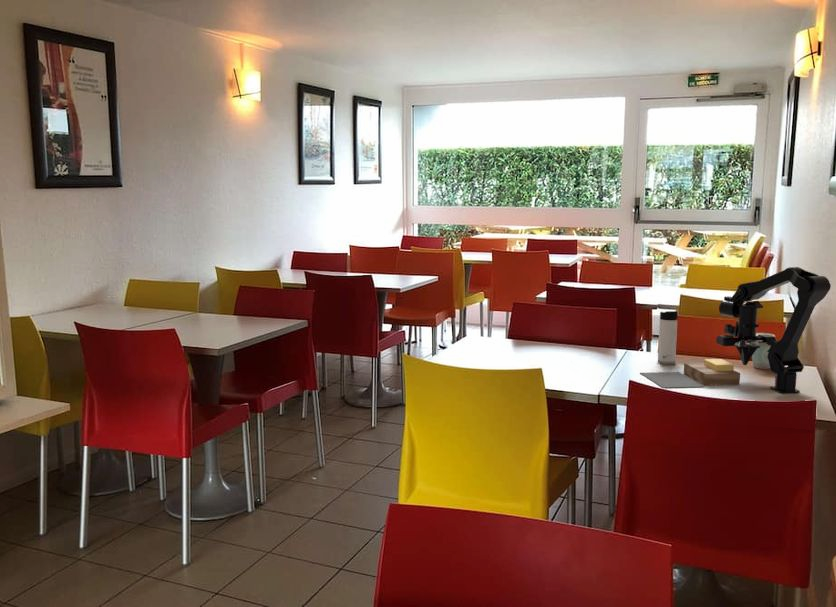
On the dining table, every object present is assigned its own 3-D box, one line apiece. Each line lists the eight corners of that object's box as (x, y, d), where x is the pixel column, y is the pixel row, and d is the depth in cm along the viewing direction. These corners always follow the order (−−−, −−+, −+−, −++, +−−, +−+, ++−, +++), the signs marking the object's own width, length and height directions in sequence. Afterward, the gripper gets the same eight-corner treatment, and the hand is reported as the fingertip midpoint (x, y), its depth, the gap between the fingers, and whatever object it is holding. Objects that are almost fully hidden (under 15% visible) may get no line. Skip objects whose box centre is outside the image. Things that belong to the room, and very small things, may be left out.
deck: (739, 384, 247) (740, 373, 246) (704, 385, 246) (705, 373, 245) (716, 373, 262) (717, 362, 262) (683, 374, 261) (684, 362, 261)
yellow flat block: (733, 370, 249) (733, 364, 249) (716, 371, 249) (716, 365, 249) (720, 364, 258) (721, 358, 258) (704, 364, 258) (704, 359, 258)
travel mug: (665, 365, 274) (668, 312, 271) (654, 361, 280) (656, 309, 277) (679, 364, 276) (682, 311, 273) (667, 360, 282) (670, 308, 279)
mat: (704, 387, 244) (704, 386, 244) (662, 388, 243) (663, 387, 242) (678, 372, 263) (678, 371, 263) (640, 373, 262) (640, 372, 262)
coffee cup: (758, 370, 267) (760, 337, 265) (743, 364, 275) (745, 333, 273) (779, 369, 269) (782, 336, 267) (764, 363, 277) (766, 332, 275)
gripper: (761, 315, 261) (758, 359, 263) (709, 316, 259) (707, 360, 261) (779, 321, 250) (775, 366, 252) (725, 321, 248) (722, 367, 250)
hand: (744, 364), depth 254 cm, fingers closed
